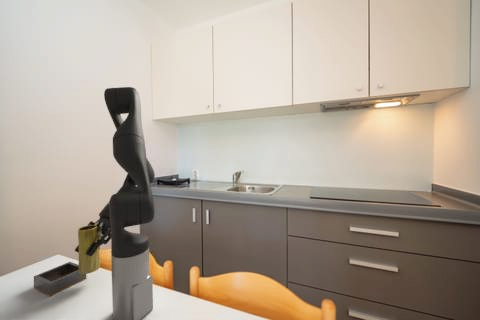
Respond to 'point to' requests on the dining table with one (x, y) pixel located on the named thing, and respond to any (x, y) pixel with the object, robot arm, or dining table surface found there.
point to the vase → (85, 241)
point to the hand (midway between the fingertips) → (82, 253)
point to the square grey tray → (58, 279)
